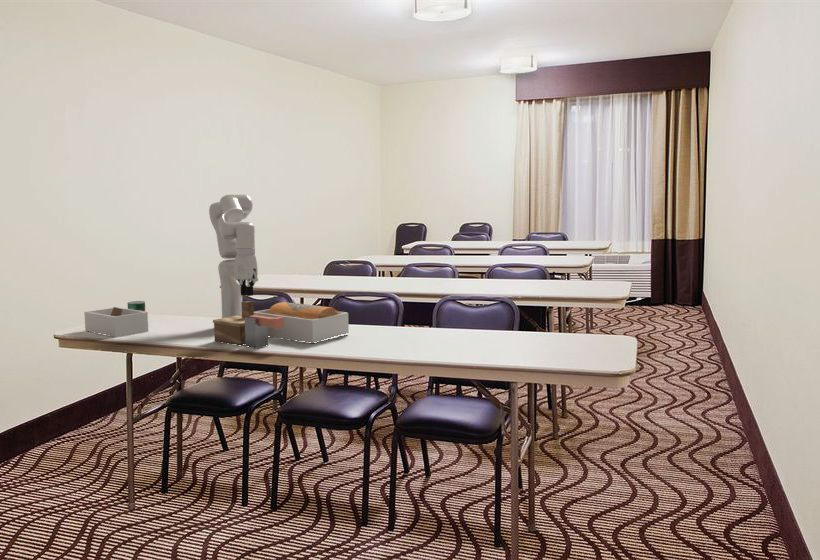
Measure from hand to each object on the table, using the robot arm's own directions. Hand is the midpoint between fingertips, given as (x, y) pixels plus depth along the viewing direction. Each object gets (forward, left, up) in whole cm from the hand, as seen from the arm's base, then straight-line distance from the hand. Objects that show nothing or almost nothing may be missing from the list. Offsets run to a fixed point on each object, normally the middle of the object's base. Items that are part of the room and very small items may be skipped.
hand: (247, 295), depth 288 cm
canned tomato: (+8, -69, -19) cm, 72 cm away
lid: (+5, 0, -11) cm, 12 cm away
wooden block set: (+20, -63, -19) cm, 69 cm away
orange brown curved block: (-20, +14, -20) cm, 31 cm away
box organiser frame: (-19, +12, -19) cm, 30 cm away
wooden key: (+8, +20, -10) cm, 23 cm away
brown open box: (+5, 0, -19) cm, 20 cm away
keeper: (+8, +14, -19) cm, 25 cm away
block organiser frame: (+23, -62, -19) cm, 69 cm away
